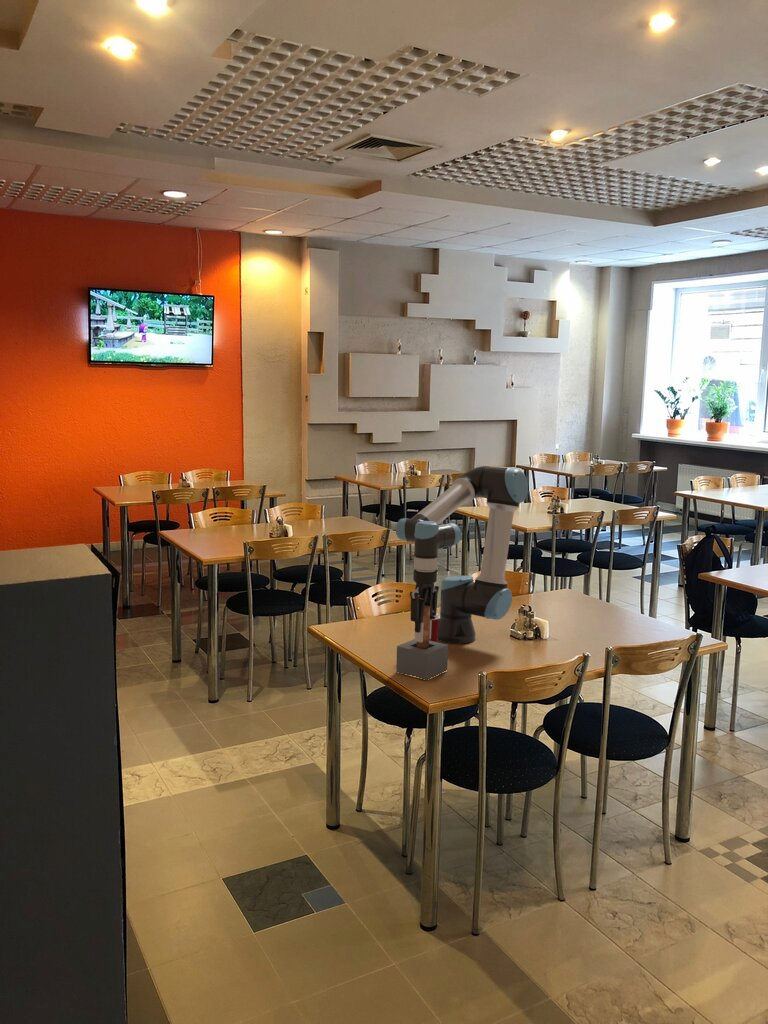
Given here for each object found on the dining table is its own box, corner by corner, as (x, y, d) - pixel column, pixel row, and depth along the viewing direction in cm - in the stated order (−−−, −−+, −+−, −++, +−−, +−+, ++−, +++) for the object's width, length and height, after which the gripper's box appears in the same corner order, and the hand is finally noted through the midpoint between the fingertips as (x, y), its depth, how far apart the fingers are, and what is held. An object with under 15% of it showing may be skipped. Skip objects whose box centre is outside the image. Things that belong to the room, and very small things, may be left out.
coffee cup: (437, 650, 302) (439, 609, 300) (439, 658, 294) (441, 616, 292) (413, 650, 302) (415, 609, 300) (415, 658, 294) (416, 615, 291)
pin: (421, 645, 281) (422, 604, 279) (431, 648, 279) (432, 606, 277) (414, 648, 278) (415, 606, 276) (424, 651, 276) (425, 608, 274)
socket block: (417, 663, 288) (418, 637, 287) (447, 671, 281) (448, 645, 280) (396, 672, 279) (397, 646, 277) (426, 681, 272) (427, 653, 270)
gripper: (430, 563, 284) (428, 631, 287) (400, 572, 270) (398, 643, 274) (449, 567, 279) (446, 636, 283) (419, 575, 266) (417, 648, 269)
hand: (422, 639), depth 278 cm, fingers closed on pin, 4 cm apart
